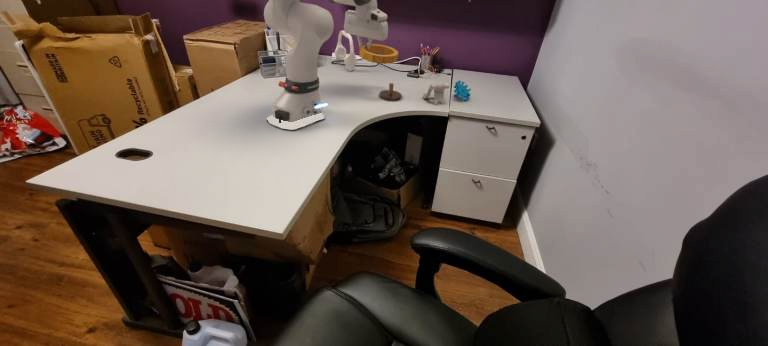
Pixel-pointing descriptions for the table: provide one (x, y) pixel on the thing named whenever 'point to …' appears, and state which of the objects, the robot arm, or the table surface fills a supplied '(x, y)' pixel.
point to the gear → (462, 91)
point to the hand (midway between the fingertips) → (364, 47)
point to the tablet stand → (436, 92)
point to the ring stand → (390, 94)
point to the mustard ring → (376, 58)
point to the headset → (341, 52)
